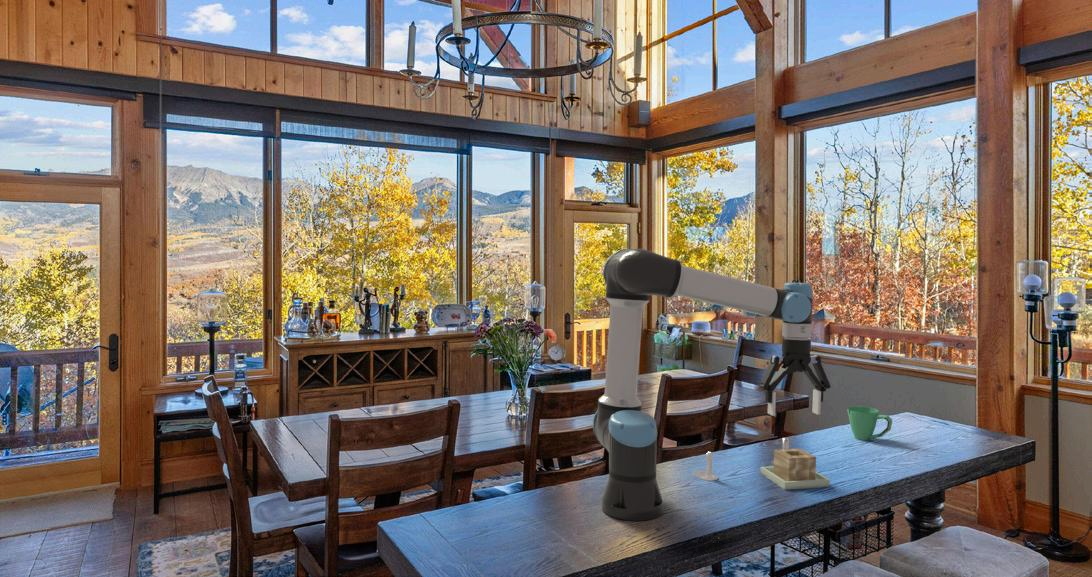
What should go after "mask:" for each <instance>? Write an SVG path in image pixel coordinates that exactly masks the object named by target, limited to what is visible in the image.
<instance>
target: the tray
mask: <svg viewBox="0 0 1092 577" xmlns="http://www.w3.org/2000/svg"><path fill="white" fill-rule="evenodd" d="M760 475H762V476H763V477H765V478H766V479H768V480H769V481H771V483H772V482H773V484H775V485H777V486H778V487H780V488H782V489H783V490H784V491H787V490H788V491H789V490H801V489H818V488H830V486H831V484H830V483H831V480H830V478H828V477H826V476H824V475H822V474H820V473H819V472H817V471H816V480H803V481H787V482H786V481H784V480H783V479H781V478H779V477H778V476H776V475H775V474H774V465H772V466H760Z"/></svg>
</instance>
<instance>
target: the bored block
mask: <svg viewBox="0 0 1092 577" xmlns="http://www.w3.org/2000/svg"><path fill="white" fill-rule="evenodd" d="M773 460H774V465H773V466H774V474H775V475H776V476H778V477H779V478H781V479H783V480H784V481H786V482H787V481H803V480H816V472H817V464H816V463H817V456H815V455H813V454H811V453H809V452H807V451H806V450H803V449H801V448H789V449H783V448H782V449H774V450H773Z"/></svg>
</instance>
